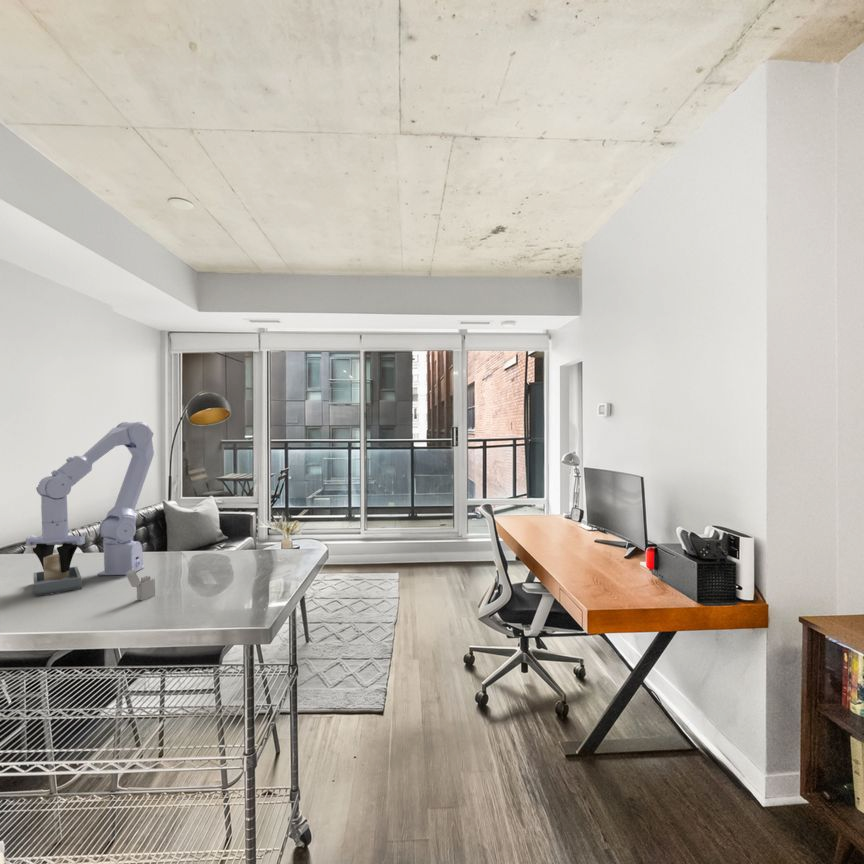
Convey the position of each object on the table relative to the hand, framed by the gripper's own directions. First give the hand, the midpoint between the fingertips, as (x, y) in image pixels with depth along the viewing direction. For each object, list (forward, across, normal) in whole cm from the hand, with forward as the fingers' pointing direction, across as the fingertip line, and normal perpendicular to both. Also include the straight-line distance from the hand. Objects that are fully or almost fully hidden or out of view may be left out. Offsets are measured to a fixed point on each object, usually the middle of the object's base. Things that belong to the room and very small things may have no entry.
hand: (56, 571), depth 145 cm
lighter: (+4, +29, -12) cm, 32 cm away
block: (+2, 0, 0) cm, 2 cm away
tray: (+4, 0, 0) cm, 4 cm away
